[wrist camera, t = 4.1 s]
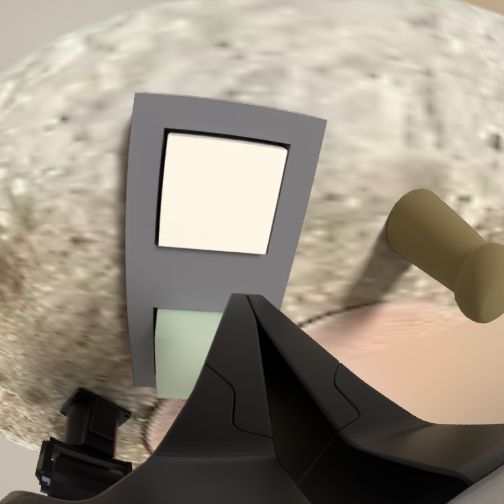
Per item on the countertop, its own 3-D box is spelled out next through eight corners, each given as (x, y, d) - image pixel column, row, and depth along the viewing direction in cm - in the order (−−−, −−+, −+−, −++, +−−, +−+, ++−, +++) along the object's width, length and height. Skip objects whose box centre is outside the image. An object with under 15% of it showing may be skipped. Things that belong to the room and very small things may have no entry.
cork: (380, 258, 25) (458, 348, 16) (391, 188, 23) (494, 260, 13) (434, 252, 26) (512, 325, 17) (447, 188, 23) (544, 250, 14)
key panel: (249, 360, 28) (256, 389, 25) (138, 355, 26) (134, 385, 23) (306, 114, 19) (326, 120, 16) (145, 92, 17) (135, 92, 14)
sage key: (234, 368, 25) (240, 399, 22) (158, 365, 23) (157, 397, 21) (247, 309, 22) (255, 342, 19) (158, 304, 21) (154, 337, 18)
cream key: (255, 231, 21) (265, 254, 19) (163, 222, 20) (158, 245, 17) (273, 140, 19) (287, 150, 16) (172, 128, 17) (168, 135, 15)
